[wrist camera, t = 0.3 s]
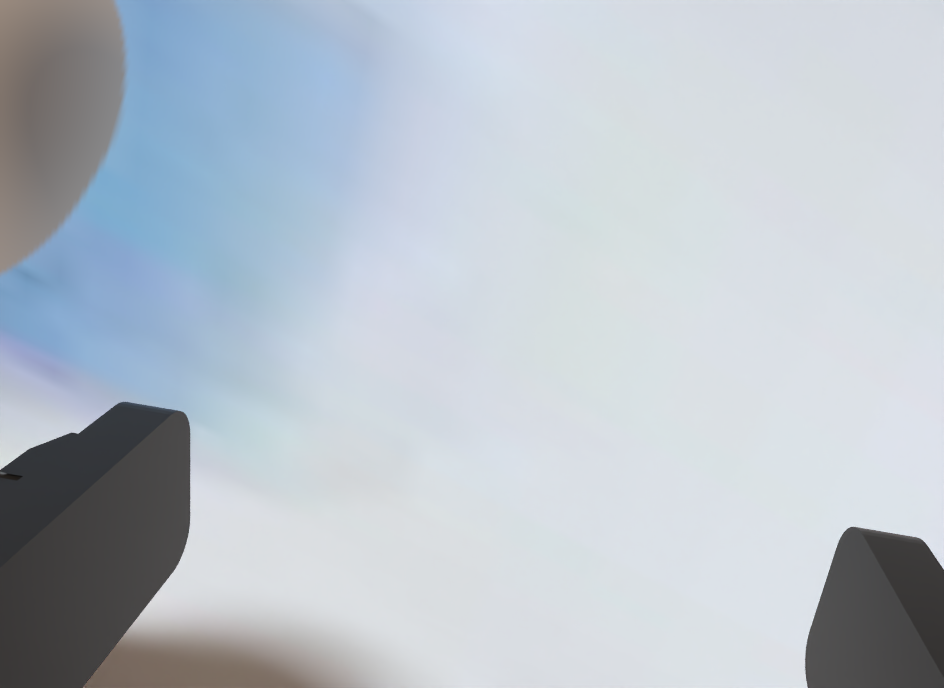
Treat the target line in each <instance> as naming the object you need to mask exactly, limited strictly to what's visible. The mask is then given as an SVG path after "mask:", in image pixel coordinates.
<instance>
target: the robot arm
mask: <svg viewBox="0 0 944 688" xmlns="http://www.w3.org/2000/svg"><path fill="white" fill-rule="evenodd" d="M189 526H190V426H189V421H188V418H187V416H186V415H185V413H184V412H181V411H177V410H171V409H165V408H159V407H153V406H147V405H141V404H135V403H129V402H121V403H119V404H117V405H115V406H114V407H113V408H111V409H110V410H109V411H108V412H106V413H105V414H104V415H102V416H101V417H100V418H98V419H97V420H96V421H94V422H93V423H92V424H91V425H89V426H88V427H87V428H85V429H84V430H83V431H81V432H80V433H79V434H77V433H69V434H67V435H64V436H62V437H59V438H57V439H54V440H51V441H49V442H46V443H44V444H41V445H38V446H36V447H33V448H31V449H29V450H27V451H26V452H24V453H23V454H22V455H20V456H19V457H18V458H16V459H15V460H13V461H12V462H11V463H9V464H8V465H7V466H5V467H4V468H2V469H1V470H0V688H83V686H84V685H85V684H86V682H87V681H88V680H89V679H90V677H91V676H92V675H93V673H94V672H95V671H96V670H97V668H98V667H99V666H100V665H101V663H102V662H103V661H104V659H105V658H106V657H107V656H108V654H109V653H110V652H111V650H112V649H113V648H114V647H115V645H116V644H117V643H118V642H119V640H120V639H121V638H122V636H123V635H124V634H125V633H126V631H127V630H128V629H129V627H130V626H131V625H132V624H133V622H134V621H135V620H136V619H137V617H138V616H139V615H140V613H141V612H142V611H143V610H144V608H145V607H146V606H147V604H148V603H149V602H150V601H151V599H152V598H153V597H154V596H155V594H156V593H157V592H158V590H159V589H160V588H161V587H162V585H163V584H164V583H165V582H166V580H167V579H168V578H169V576H170V575H171V574H172V573H173V571H174V570H175V568H176V566H177V565H178V563H179V561H180V559H181V556H182V554H183V551H184V548H185V545H186V542H187V538H188V533H189ZM805 670H806V681H807V686H808V688H944V569H943V568H942V566H941V565H940V564H939V562H938V561H937V559H936V558H935V556H934V555H933V553H932V552H931V550H930V549H929V547H928V546H927V545H926V543H925V542H924V541H923V540H921V539H920V538H916V537H911V536H905V535H899V534H893V533H887V532H881V531H875V530H869V529H863V528H858V527H850V528H848V529H847V530H846V531H845V532H844V533H843V535H842V536H841V538H840V540H839V543H838V545H837V548H836V551H835V554H834V557H833V561H832V564H831V567H830V570H829V573H828V576H827V579H826V582H825V585H824V588H823V592H822V595H821V598H820V601H819V604H818V607H817V610H816V613H815V616H814V619H813V623H812V626H811V629H810V632H809V636H808V640H807V646H806V657H805Z"/></svg>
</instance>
